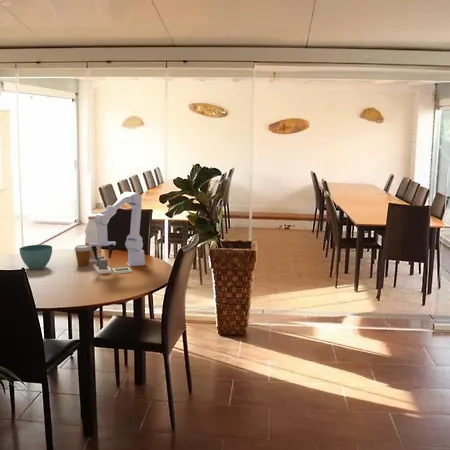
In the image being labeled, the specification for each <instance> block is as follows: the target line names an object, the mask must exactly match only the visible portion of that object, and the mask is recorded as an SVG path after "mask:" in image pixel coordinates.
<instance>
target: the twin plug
mask: <svg viewBox="0 0 450 450" xmlns="http://www.w3.org/2000/svg"><path fill="white" fill-rule="evenodd" d="M99 259H106V258H105V256H104V255H101V256H97V260H96V262H95V264H96V265H97V267H98V266H99Z"/></svg>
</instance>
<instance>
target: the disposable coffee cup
mask: <svg viewBox="0 0 450 450" xmlns="http://www.w3.org/2000/svg"><path fill="white" fill-rule="evenodd" d="M74 250H75V256H76V262H77V266H78V267H81V268H83V267H89V265H90V262H89V258H90V250H91V248H90V247H89V245H85V244H81V245H79V244H77V245H75V246H74Z"/></svg>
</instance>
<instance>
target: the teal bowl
mask: <svg viewBox="0 0 450 450" xmlns="http://www.w3.org/2000/svg"><path fill="white" fill-rule="evenodd" d="M52 254H53V246H52V245H50V244H49V245H48V244H31V245H26V246H22V247H20V248H19V255H20V258H21V259H22V262H23V263H24V265H25V266H26V267H27V268H28V269H29V270H32V269H39V270H43V269H45V268H46V267H47V266H48V264H49V262H50V261H51V257H52Z"/></svg>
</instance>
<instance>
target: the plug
mask: <svg viewBox="0 0 450 450" xmlns="http://www.w3.org/2000/svg"><path fill="white" fill-rule="evenodd" d="M107 266H108V259H107V258H105V259H99V270H101V269H108V267H109V266H108V267H107Z"/></svg>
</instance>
